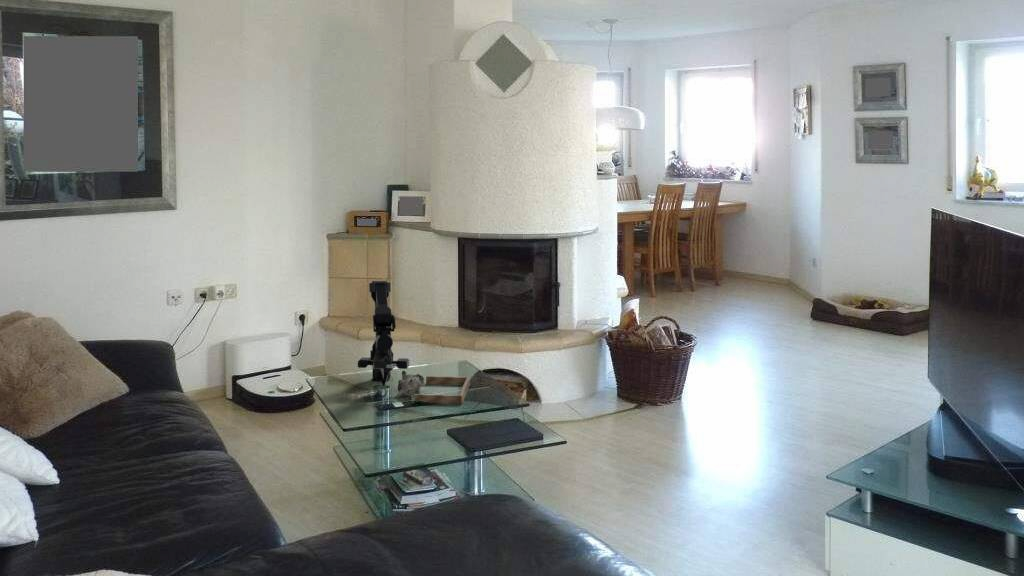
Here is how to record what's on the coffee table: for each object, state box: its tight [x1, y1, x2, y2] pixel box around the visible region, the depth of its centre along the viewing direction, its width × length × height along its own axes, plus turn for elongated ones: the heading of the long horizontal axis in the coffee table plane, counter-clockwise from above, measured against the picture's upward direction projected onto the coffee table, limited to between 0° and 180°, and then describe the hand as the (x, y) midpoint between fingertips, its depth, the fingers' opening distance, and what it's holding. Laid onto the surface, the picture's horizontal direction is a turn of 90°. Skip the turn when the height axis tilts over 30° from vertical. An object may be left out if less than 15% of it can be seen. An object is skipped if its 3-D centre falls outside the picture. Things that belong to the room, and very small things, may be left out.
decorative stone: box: [396, 370, 426, 399], centre depth 348 cm, size 16×9×10 cm, turn 171°
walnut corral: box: [414, 375, 471, 405], centre depth 350 cm, size 17×28×3 cm, turn 177°
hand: (383, 385), depth 351 cm, fingers closed
